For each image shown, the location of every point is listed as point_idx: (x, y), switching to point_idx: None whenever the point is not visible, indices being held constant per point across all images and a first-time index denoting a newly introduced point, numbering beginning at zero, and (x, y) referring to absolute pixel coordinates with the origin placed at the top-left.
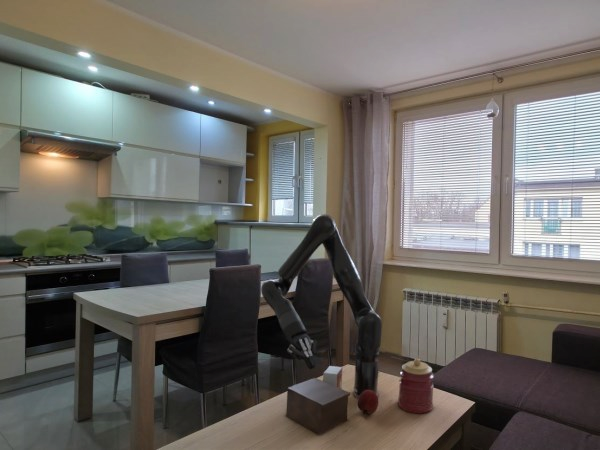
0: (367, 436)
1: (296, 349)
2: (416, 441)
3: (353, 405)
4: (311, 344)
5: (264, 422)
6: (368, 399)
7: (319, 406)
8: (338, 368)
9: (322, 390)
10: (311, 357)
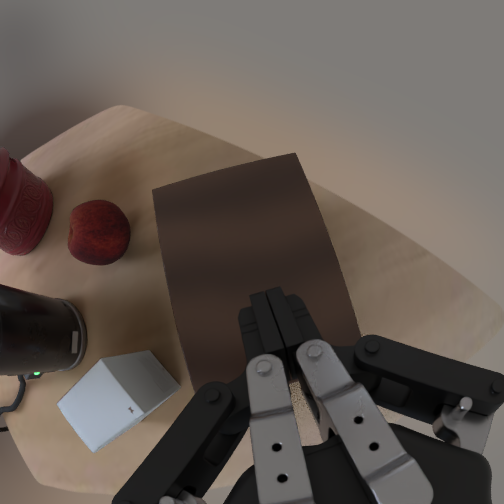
0: (188, 152)
1: (444, 387)
2: (128, 111)
3: (117, 301)
4: (193, 495)
5: (395, 339)
6: (104, 202)
7: None
8: (71, 405)
9: (237, 258)
10: (269, 342)
